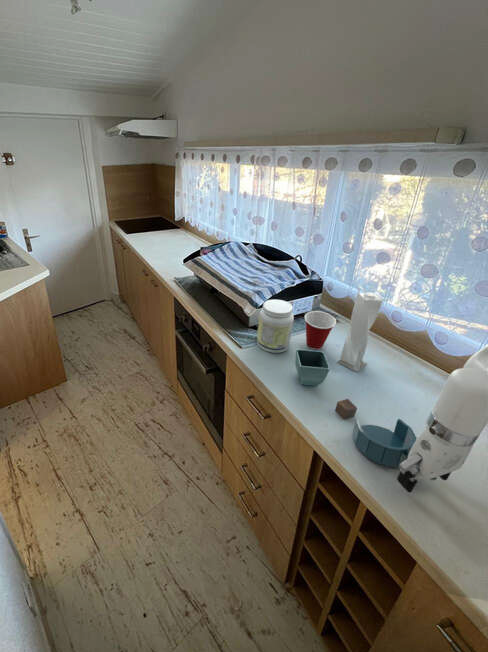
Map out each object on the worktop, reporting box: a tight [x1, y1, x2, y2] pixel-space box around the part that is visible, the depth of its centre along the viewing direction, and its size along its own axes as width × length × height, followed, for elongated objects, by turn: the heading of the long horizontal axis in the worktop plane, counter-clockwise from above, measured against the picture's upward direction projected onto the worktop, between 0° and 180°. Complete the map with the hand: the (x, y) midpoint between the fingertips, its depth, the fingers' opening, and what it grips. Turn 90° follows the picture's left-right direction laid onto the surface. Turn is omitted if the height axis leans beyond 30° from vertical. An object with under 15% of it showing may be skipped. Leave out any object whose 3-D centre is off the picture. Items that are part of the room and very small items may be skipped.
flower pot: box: [294, 348, 331, 387], centre depth 97 cm, size 9×9×9 cm
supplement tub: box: [256, 299, 295, 354], centre depth 113 cm, size 12×12×17 cm
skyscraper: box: [336, 285, 384, 373], centre depth 101 cm, size 8×8×28 cm
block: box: [334, 398, 358, 421], centre depth 86 cm, size 4×4×4 cm
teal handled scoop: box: [352, 418, 438, 481], centre depth 73 cm, size 19×12×6 cm, turn 15°
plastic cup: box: [304, 310, 337, 350], centre depth 113 cm, size 11×11×12 cm
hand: (421, 479), depth 67 cm, fingers open, 9 cm apart
